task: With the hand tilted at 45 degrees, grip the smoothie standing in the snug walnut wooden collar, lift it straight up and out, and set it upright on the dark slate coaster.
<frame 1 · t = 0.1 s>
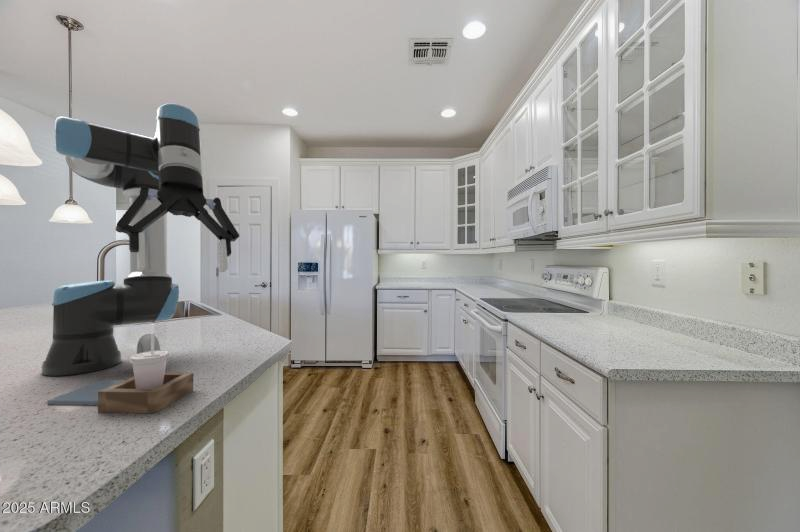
hand: (185, 269, 61), 28 cm above the counter, tool tilted 20°, fingers open, 13 cm apart
collar: (149, 400, 65), on the counter
smoothie: (149, 401, 65), resting in collar
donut: (148, 372, 82), on the counter
coaster: (101, 393, 68), on the counter
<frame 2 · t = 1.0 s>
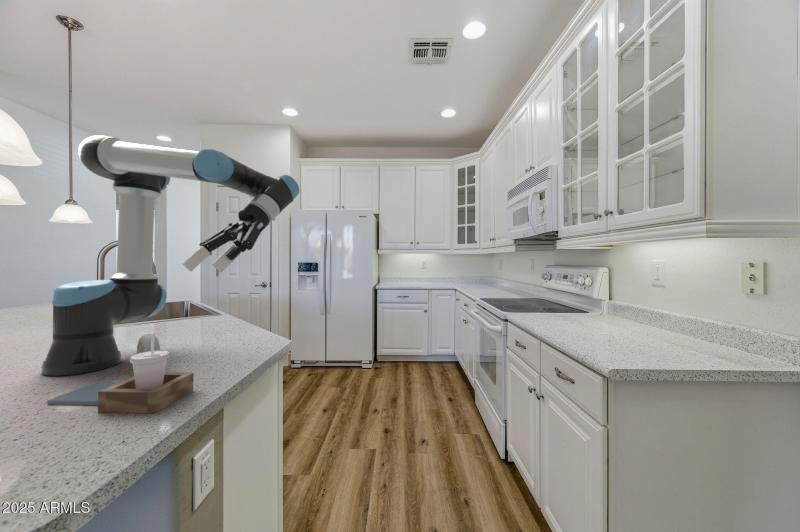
hand: (200, 267, 73), 28 cm above the counter, tool tilted 45°, fingers open, 13 cm apart
nothing on the counter moved.
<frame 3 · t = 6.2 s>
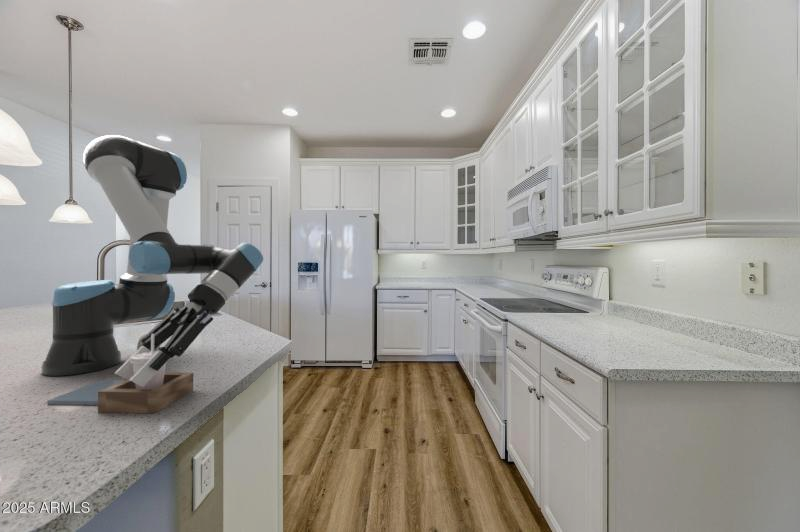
hand: (128, 379, 62), 5 cm above the counter, tool tilted 45°, fingers closed on smoothie, 6 cm apart
smoothie: (149, 401, 65), resting in collar, touching gripper
everything else where it was.
when the fingers open (7 cm above the counter, at t = 11.9 s): smoothie drops 1 cm, resting on coaster.
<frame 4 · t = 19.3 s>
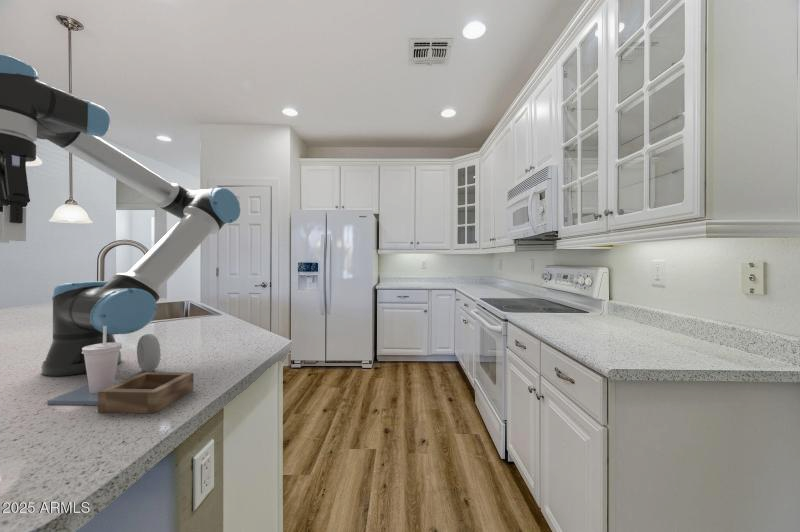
hand: (5, 241, 63), 33 cm above the counter, tool pointing down, fingers open, 13 cm apart
smoothie: (101, 390, 68), point 1 cm above the counter, touching coaster
everything else where it was.
at the end: smoothie inside the target area on the coaster (0.1 cm from its centre), point 0.6 cm above the coaster's base; smoothie tilted 0°; the gripper is holding nothing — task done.
